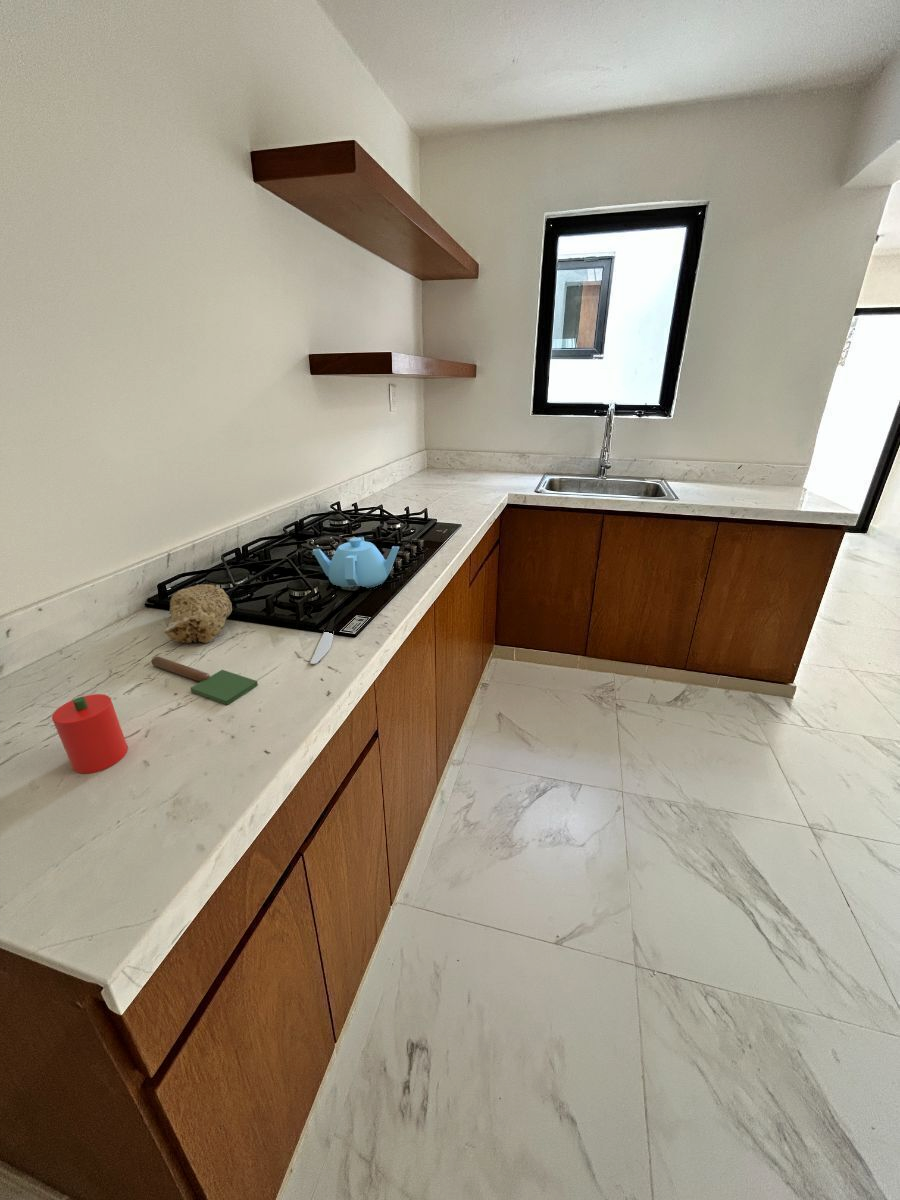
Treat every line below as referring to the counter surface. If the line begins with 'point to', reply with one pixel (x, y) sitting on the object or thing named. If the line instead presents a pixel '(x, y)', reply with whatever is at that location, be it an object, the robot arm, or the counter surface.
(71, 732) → the pepper
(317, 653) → the butter knife
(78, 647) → the counter surface
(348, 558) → the teapot
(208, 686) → the spatula
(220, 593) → the sponge
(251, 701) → the counter surface
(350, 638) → the counter surface
